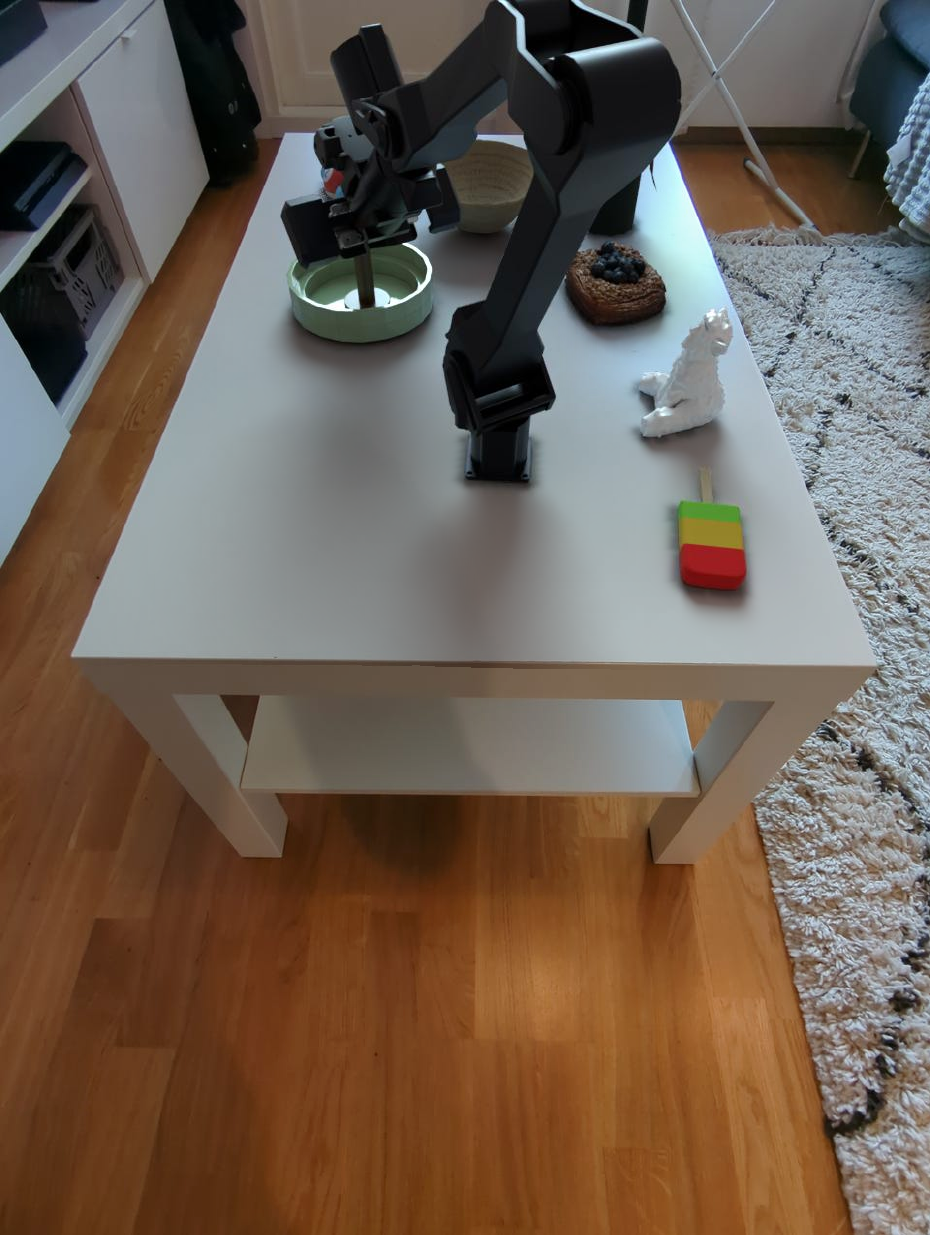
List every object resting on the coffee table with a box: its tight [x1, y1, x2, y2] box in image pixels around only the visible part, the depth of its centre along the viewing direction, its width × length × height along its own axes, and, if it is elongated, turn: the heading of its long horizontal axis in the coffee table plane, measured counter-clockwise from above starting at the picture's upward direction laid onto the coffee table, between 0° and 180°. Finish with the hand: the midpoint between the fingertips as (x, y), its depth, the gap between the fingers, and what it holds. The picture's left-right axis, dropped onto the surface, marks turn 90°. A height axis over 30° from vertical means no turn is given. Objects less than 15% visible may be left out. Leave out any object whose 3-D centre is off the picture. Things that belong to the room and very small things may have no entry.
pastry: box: [563, 240, 667, 328], centre depth 92 cm, size 11×12×6 cm
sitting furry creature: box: [638, 307, 734, 439], centre depth 76 cm, size 10×9×12 cm
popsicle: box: [677, 466, 747, 591], centre depth 70 cm, size 6×15×2 cm, turn 172°
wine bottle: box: [588, 0, 657, 237], centre depth 94 cm, size 8×10×30 cm
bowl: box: [440, 138, 534, 234], centre depth 102 cm, size 18×18×8 cm
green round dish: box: [285, 242, 435, 344], centre depth 91 cm, size 17×17×4 cm
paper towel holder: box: [344, 197, 391, 309], centre depth 86 cm, size 6×6×14 cm
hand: (356, 246), depth 86 cm, fingers closed on paper towel holder
